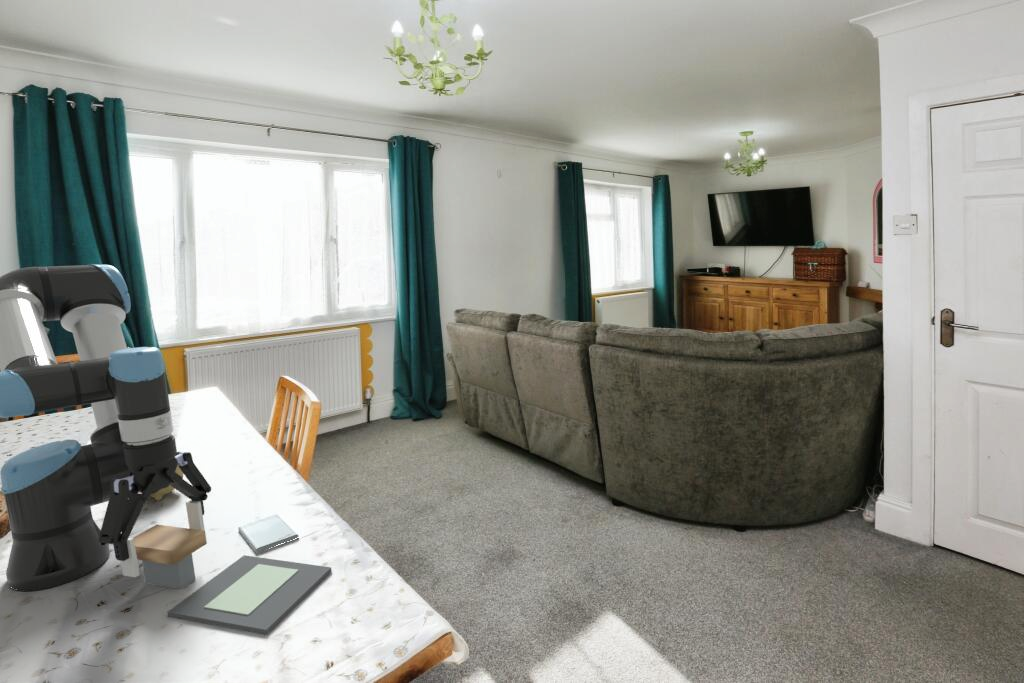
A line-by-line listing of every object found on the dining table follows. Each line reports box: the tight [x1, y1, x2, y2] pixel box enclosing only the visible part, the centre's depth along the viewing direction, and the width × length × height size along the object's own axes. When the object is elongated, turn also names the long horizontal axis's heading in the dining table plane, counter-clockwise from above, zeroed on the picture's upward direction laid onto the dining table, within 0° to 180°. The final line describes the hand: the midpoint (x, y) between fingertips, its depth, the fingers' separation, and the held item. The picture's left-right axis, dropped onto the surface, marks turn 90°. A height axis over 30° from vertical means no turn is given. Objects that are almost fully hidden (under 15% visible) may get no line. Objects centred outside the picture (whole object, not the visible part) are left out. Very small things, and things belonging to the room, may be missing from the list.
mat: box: [167, 554, 332, 635], centre depth 95 cm, size 19×17×1 cm
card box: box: [132, 524, 208, 565], centre depth 98 cm, size 11×7×2 cm, turn 74°
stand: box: [141, 553, 196, 590], centre depth 99 cm, size 8×3×6 cm, turn 74°
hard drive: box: [238, 513, 300, 555], centre depth 115 cm, size 2×8×12 cm
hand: (166, 553), depth 98 cm, fingers open, 13 cm apart
